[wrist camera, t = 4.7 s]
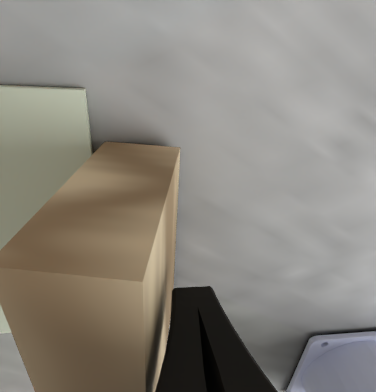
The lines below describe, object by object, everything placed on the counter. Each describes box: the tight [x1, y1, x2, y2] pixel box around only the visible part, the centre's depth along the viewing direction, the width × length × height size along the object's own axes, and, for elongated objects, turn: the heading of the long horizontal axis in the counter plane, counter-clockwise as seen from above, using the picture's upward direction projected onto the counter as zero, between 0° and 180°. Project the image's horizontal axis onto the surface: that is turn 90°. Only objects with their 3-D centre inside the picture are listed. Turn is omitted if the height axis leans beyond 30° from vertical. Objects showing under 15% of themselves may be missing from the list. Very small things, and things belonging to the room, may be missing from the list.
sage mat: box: [0, 85, 93, 334], centre depth 13 cm, size 8×13×1 cm, turn 177°
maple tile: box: [0, 142, 180, 392], centre depth 11 cm, size 3×9×7 cm, turn 176°
